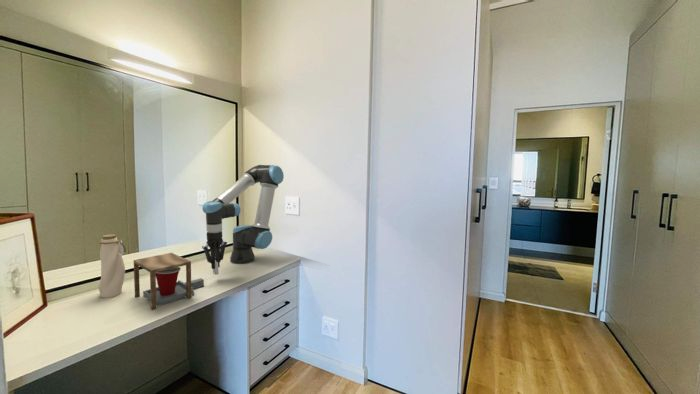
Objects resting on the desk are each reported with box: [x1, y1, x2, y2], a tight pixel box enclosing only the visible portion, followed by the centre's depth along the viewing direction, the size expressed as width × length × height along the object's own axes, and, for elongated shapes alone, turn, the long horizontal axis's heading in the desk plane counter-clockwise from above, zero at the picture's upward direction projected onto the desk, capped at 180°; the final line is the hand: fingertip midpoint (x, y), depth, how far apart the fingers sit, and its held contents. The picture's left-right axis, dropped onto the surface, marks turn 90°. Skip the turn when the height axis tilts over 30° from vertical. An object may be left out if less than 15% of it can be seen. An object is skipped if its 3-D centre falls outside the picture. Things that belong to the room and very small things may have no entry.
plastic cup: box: [156, 266, 181, 296], centre depth 136 cm, size 11×11×12 cm
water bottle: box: [98, 233, 127, 298], centre depth 134 cm, size 10×9×28 cm
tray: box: [142, 277, 205, 307], centre depth 139 cm, size 24×16×3 cm, turn 144°
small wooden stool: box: [133, 252, 192, 311], centre depth 133 cm, size 16×20×17 cm
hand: (215, 273), depth 156 cm, fingers closed
